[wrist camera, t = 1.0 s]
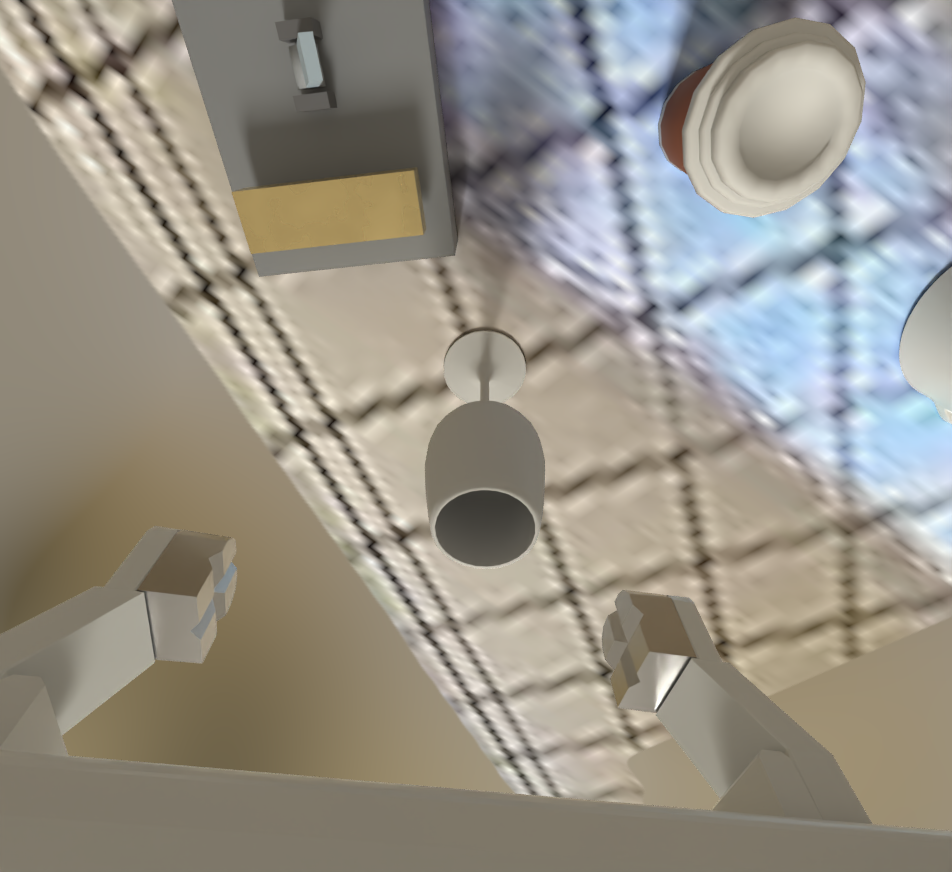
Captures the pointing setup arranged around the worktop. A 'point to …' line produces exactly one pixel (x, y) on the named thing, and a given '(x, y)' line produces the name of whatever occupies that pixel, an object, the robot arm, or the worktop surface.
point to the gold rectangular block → (331, 210)
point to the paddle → (306, 62)
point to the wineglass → (485, 459)
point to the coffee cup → (766, 117)
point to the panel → (326, 108)
